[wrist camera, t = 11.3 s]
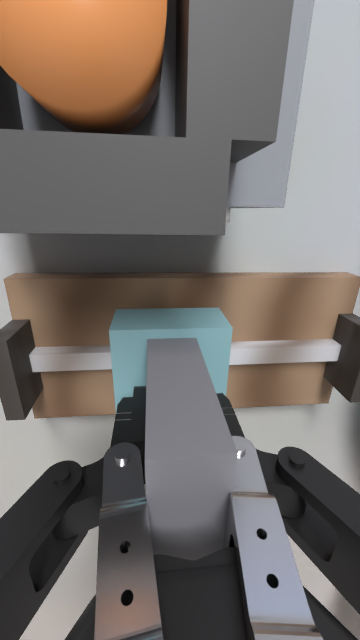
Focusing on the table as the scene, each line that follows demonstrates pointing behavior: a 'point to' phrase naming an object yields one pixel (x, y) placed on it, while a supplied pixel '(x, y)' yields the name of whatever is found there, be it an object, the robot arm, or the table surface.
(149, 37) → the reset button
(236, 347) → the rail base
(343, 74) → the table surface
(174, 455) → the carriage
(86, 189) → the grey dispenser housing
